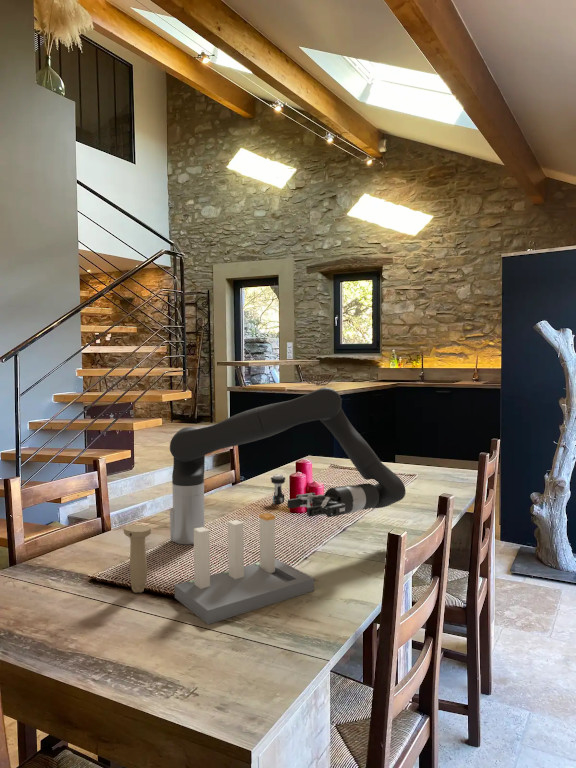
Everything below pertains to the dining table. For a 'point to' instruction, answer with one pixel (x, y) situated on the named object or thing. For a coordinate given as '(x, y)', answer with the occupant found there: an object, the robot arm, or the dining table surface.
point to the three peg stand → (236, 581)
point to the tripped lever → (267, 542)
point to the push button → (278, 488)
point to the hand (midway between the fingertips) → (297, 508)
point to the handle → (138, 555)
